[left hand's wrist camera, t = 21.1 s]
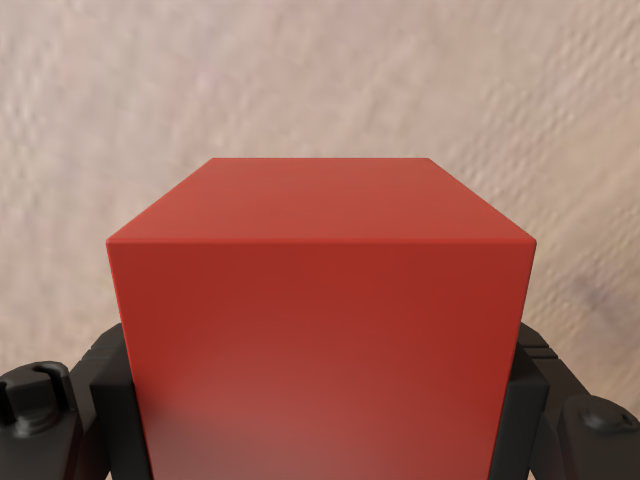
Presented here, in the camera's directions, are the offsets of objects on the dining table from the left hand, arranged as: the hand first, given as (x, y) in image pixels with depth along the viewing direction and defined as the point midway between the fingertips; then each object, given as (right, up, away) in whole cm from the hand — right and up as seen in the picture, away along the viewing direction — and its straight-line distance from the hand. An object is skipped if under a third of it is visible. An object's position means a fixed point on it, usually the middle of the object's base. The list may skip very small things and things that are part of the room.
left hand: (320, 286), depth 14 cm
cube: (0, 0, +1) cm, 1 cm away
